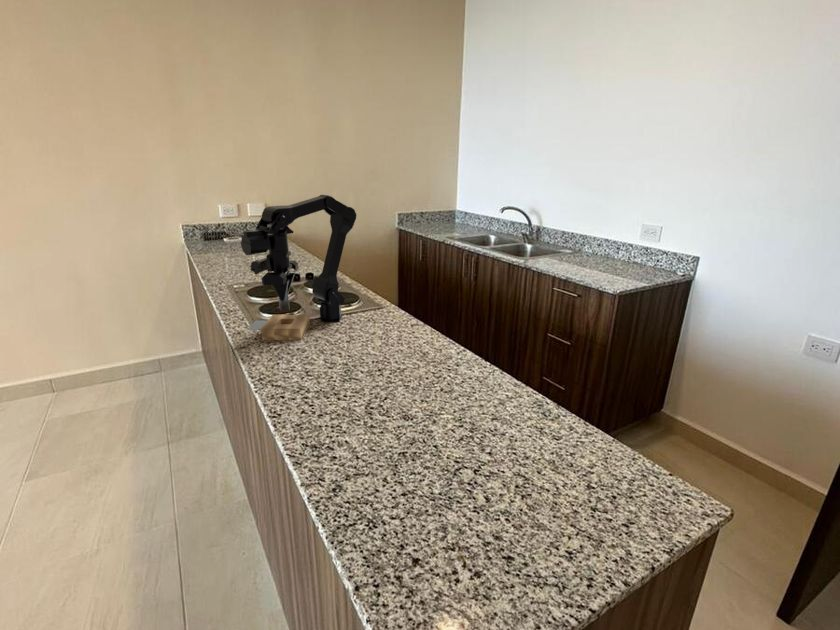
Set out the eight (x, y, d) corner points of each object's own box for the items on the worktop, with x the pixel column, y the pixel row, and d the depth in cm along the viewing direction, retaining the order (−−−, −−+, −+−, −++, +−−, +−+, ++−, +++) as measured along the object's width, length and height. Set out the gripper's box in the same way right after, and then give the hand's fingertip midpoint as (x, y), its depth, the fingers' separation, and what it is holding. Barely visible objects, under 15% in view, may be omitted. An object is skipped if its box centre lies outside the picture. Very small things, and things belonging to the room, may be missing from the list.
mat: (276, 321, 158) (276, 320, 158) (268, 330, 151) (268, 329, 151) (255, 321, 158) (255, 320, 158) (247, 330, 151) (247, 329, 151)
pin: (290, 307, 147) (287, 277, 144) (288, 310, 145) (285, 280, 141) (281, 307, 147) (278, 277, 144) (278, 310, 145) (275, 280, 141)
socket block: (309, 326, 154) (309, 314, 153) (301, 340, 143) (300, 328, 142) (274, 325, 154) (272, 314, 153) (262, 340, 143) (261, 328, 142)
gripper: (261, 242, 148) (267, 289, 154) (240, 256, 131) (247, 308, 136) (296, 243, 148) (300, 289, 154) (280, 257, 131) (285, 309, 136)
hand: (283, 298), depth 145 cm, fingers closed on pin, 3 cm apart
